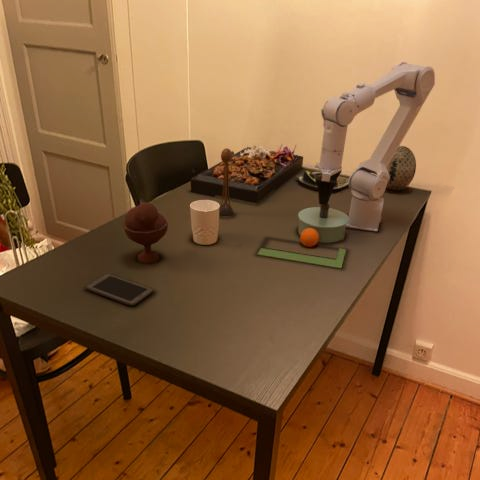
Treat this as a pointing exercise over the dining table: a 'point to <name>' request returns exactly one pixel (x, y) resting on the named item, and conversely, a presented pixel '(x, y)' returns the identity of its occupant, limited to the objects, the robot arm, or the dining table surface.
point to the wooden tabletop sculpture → (226, 183)
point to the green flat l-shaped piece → (305, 257)
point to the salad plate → (309, 181)
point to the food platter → (249, 174)
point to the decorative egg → (401, 169)
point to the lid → (323, 217)
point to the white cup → (205, 221)
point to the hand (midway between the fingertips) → (325, 199)
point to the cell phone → (119, 289)
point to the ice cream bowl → (145, 229)
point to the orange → (309, 237)
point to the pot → (325, 233)
